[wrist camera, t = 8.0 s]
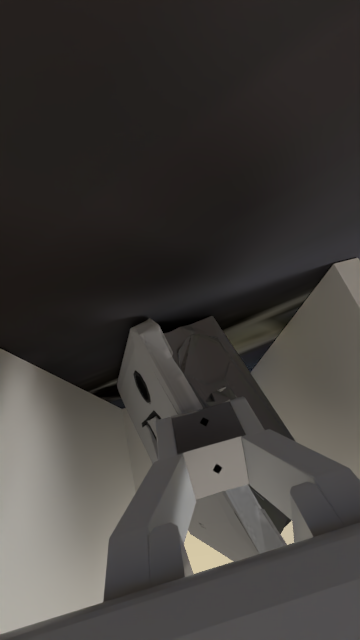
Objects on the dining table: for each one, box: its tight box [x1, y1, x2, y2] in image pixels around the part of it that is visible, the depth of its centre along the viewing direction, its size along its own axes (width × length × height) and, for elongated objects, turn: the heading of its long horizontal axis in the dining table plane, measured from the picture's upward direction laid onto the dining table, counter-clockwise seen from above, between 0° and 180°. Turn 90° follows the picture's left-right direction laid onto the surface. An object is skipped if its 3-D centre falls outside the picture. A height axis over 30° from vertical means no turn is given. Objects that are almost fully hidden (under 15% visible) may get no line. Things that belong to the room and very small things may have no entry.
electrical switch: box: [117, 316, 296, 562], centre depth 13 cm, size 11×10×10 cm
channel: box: [0, 258, 360, 634], centre depth 17 cm, size 15×20×11 cm
